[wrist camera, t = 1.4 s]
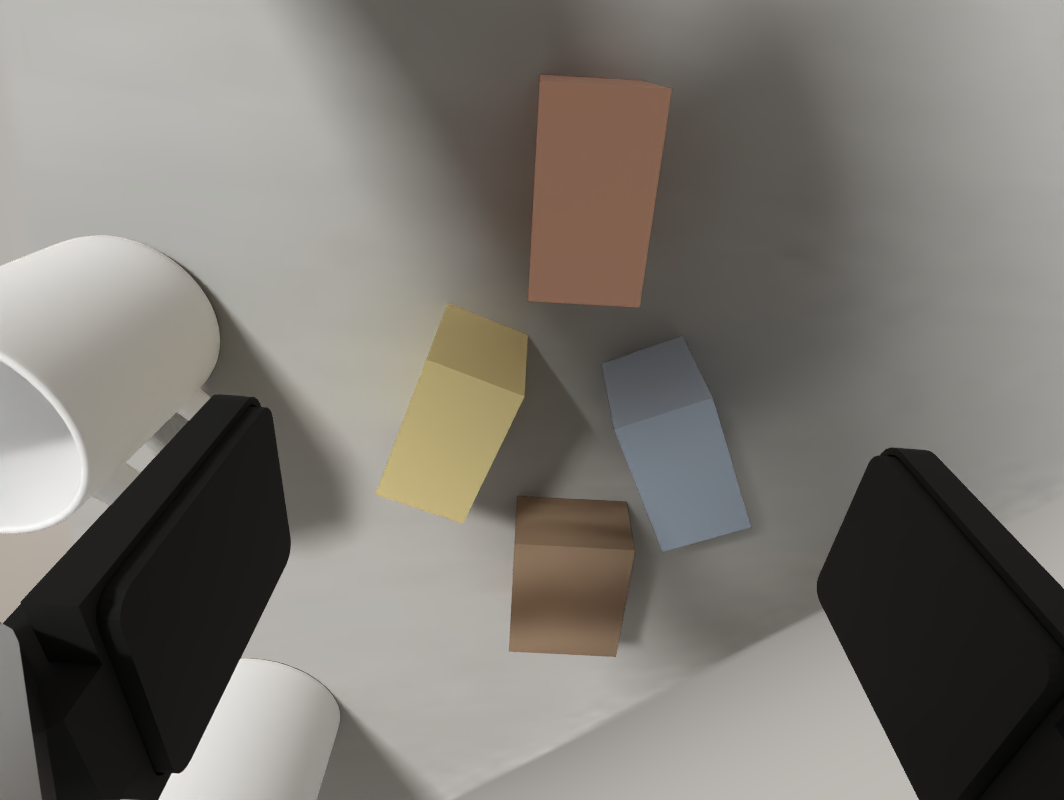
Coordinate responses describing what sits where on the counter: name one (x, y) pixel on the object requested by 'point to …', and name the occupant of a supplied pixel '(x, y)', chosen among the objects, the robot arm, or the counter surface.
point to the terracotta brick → (595, 188)
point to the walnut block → (570, 575)
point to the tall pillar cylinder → (262, 739)
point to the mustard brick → (457, 415)
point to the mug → (92, 370)
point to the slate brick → (674, 444)
